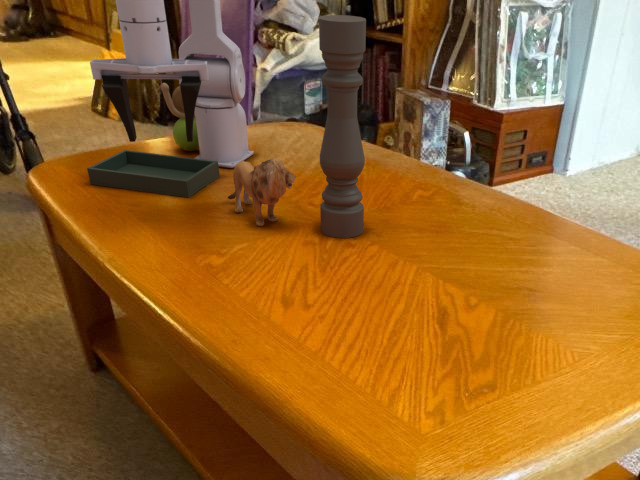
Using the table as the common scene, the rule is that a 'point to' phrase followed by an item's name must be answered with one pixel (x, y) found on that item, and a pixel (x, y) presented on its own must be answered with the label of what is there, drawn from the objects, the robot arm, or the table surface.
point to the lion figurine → (261, 185)
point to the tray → (154, 173)
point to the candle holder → (342, 125)
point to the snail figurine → (180, 126)
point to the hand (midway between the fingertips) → (162, 139)
